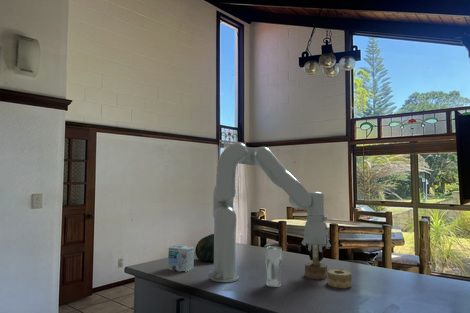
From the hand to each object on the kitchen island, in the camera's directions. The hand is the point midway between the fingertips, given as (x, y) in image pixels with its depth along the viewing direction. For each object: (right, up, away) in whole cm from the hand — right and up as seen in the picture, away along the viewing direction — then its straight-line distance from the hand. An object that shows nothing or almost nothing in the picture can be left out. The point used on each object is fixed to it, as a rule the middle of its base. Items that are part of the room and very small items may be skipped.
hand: (316, 259), depth 154 cm
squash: (-50, -9, +29) cm, 59 cm away
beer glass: (-21, -6, -14) cm, 26 cm away
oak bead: (+7, -6, -13) cm, 16 cm away
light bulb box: (-63, -8, +9) cm, 64 cm away
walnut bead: (0, -7, -1) cm, 7 cm away
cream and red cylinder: (0, -5, 0) cm, 5 cm away
